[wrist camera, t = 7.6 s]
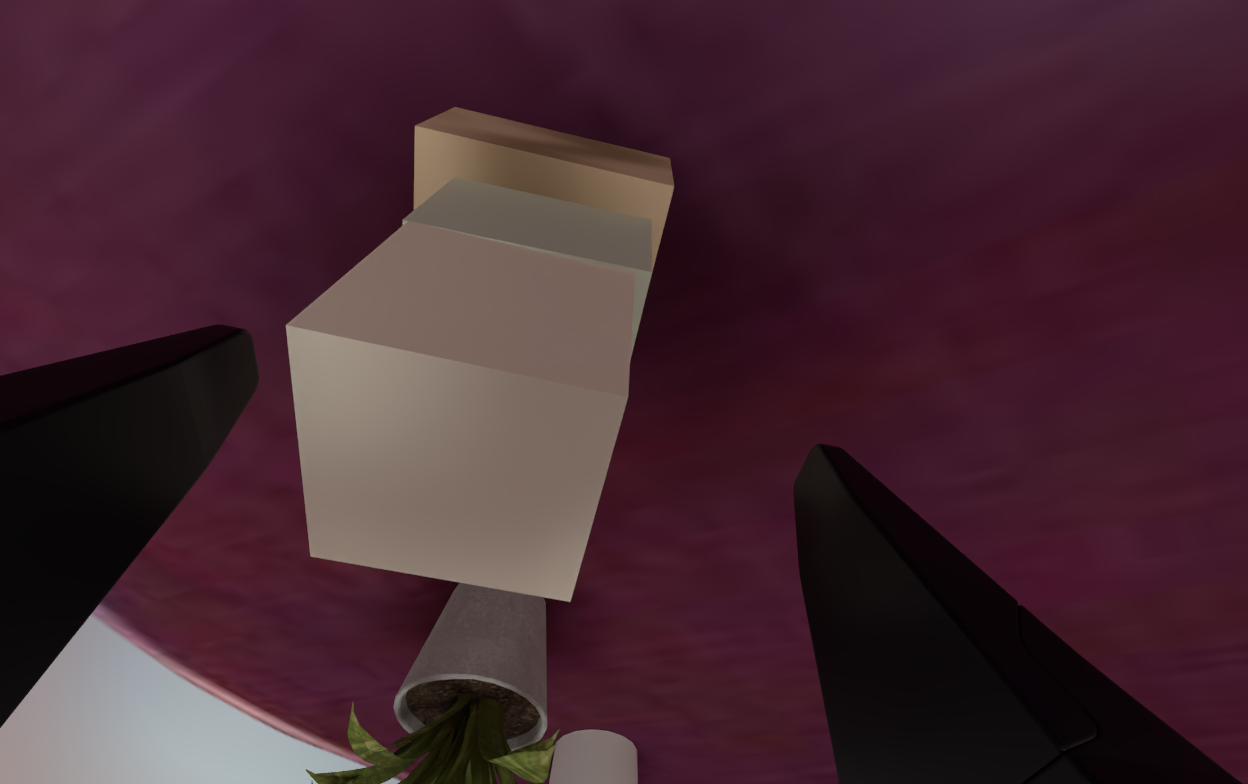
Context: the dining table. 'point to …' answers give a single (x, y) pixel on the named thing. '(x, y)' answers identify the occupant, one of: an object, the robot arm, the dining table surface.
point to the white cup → (594, 759)
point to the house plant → (468, 698)
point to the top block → (546, 228)
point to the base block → (541, 165)
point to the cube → (461, 409)
